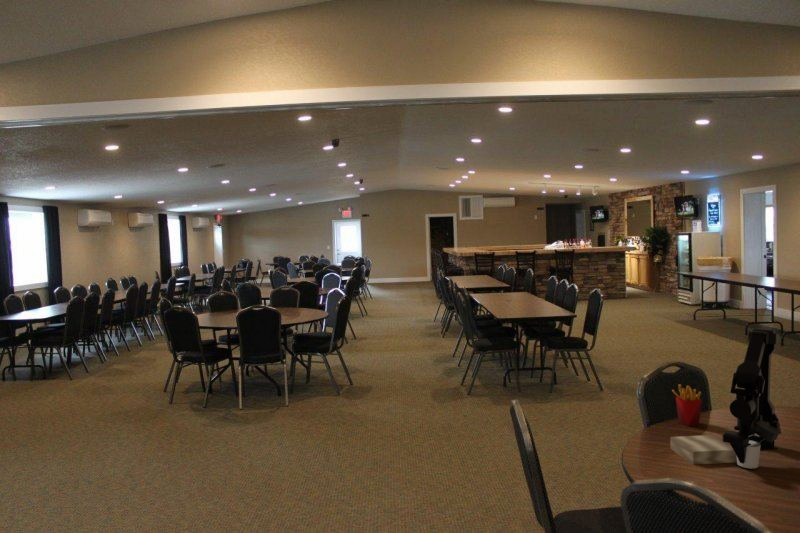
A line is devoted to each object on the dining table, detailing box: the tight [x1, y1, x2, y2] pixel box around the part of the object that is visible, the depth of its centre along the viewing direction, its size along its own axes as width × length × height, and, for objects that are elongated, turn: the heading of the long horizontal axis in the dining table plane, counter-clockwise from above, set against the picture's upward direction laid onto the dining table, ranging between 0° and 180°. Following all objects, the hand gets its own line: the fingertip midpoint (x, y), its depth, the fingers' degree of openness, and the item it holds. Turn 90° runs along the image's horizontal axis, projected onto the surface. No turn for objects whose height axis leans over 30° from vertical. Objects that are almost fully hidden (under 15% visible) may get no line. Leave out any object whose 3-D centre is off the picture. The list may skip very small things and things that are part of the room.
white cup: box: [736, 440, 761, 469], centre depth 187 cm, size 7×7×7 cm
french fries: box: [671, 384, 703, 427], centre depth 228 cm, size 9×8×15 cm
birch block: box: [669, 434, 737, 466], centre depth 197 cm, size 14×14×4 cm
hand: (747, 460), depth 187 cm, fingers closed on white cup, 6 cm apart
